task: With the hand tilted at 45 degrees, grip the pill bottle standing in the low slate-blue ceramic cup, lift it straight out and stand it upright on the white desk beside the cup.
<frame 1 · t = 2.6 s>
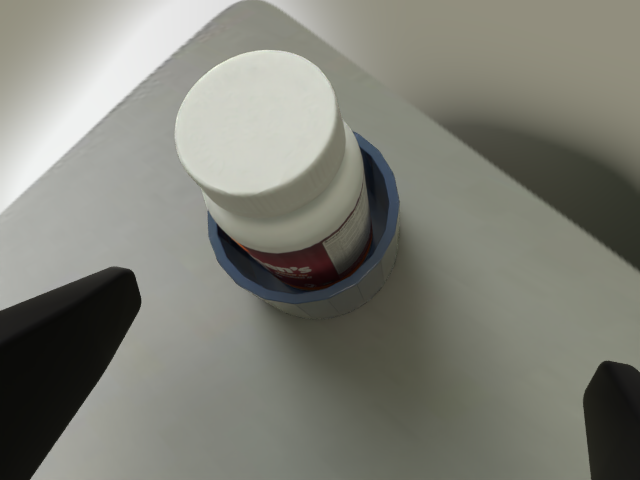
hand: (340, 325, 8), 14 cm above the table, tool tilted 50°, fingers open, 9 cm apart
pill bottle: (317, 238, 24), resting on cup
cup: (318, 240, 24), on the table
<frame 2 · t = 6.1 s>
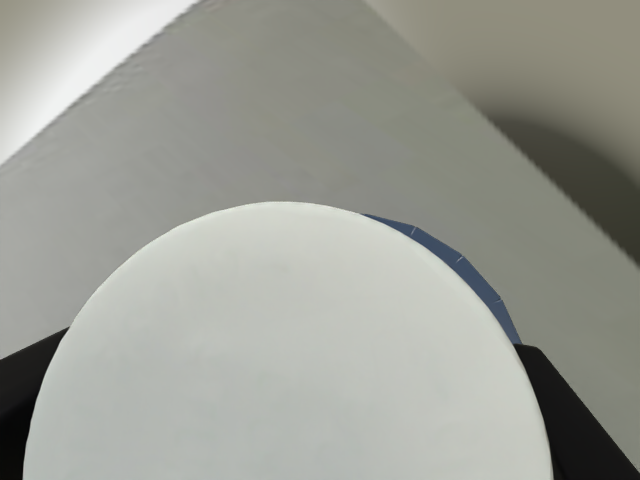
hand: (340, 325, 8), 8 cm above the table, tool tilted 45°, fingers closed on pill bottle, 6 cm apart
pill bottle: (357, 370, 15), resting on cup, touching gripper
cup: (358, 370, 15), on the table
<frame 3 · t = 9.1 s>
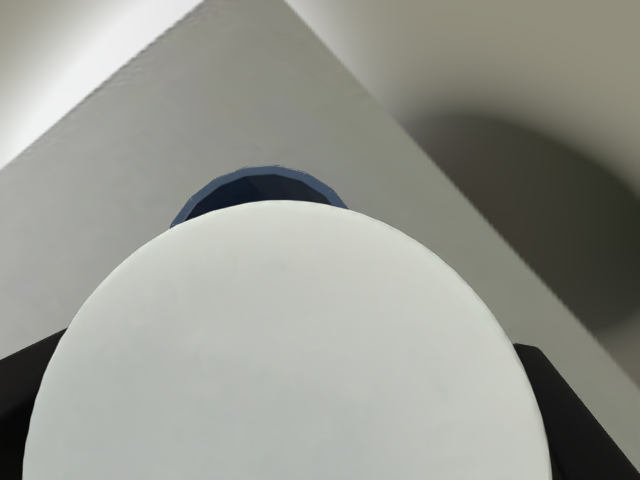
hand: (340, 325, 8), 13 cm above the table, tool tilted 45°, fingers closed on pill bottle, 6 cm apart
pill bottle: (357, 370, 15), point 6 cm above the table, touching gripper
cup: (287, 280, 22), on the table
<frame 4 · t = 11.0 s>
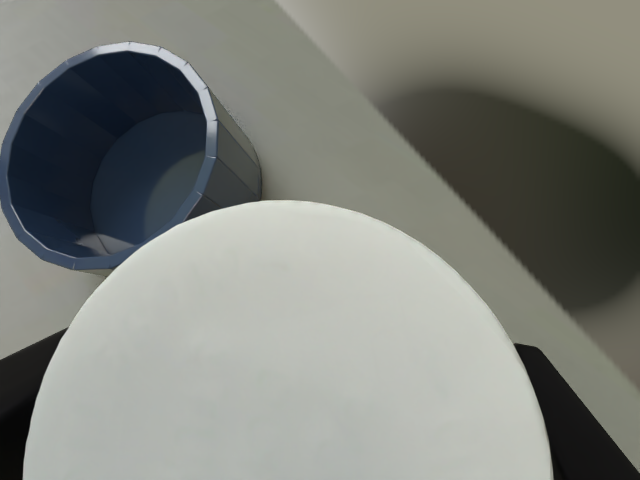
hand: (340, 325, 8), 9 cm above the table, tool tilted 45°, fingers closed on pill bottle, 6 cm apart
pill bottle: (357, 370, 15), point 2 cm above the table, touching gripper
cup: (173, 193, 20), on the table
when the fingers open (7 cm above the table, at t = 12.3 s): pill bottle stays where it is, on the table.
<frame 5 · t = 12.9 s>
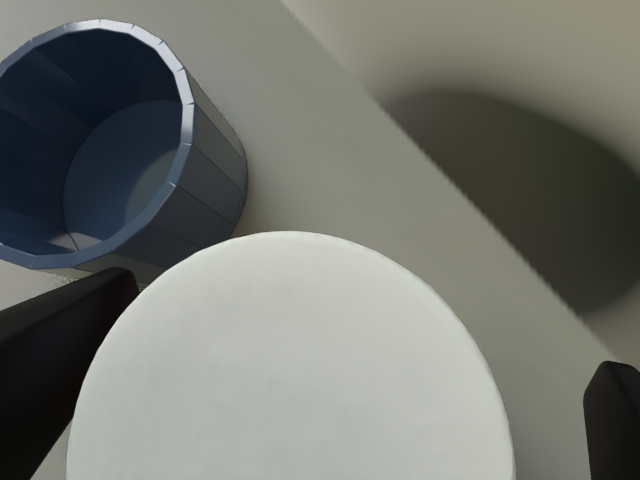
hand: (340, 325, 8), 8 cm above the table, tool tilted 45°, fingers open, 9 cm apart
pill bottle: (356, 373, 16), on the table
cup: (152, 187, 19), on the table
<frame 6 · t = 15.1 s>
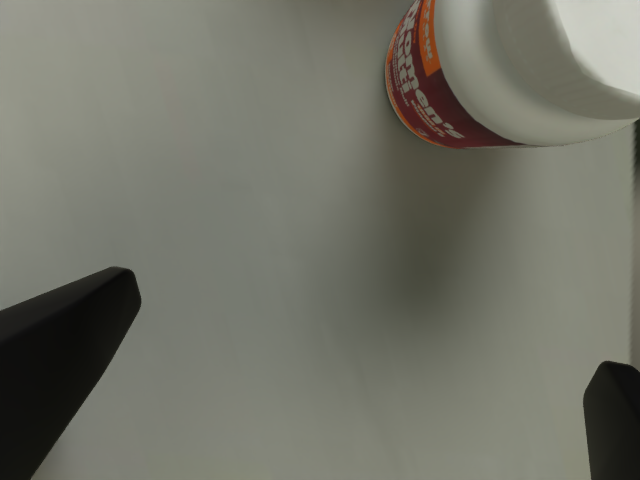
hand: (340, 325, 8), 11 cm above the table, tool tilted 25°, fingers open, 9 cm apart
pill bottle: (456, 73, 18), on the table
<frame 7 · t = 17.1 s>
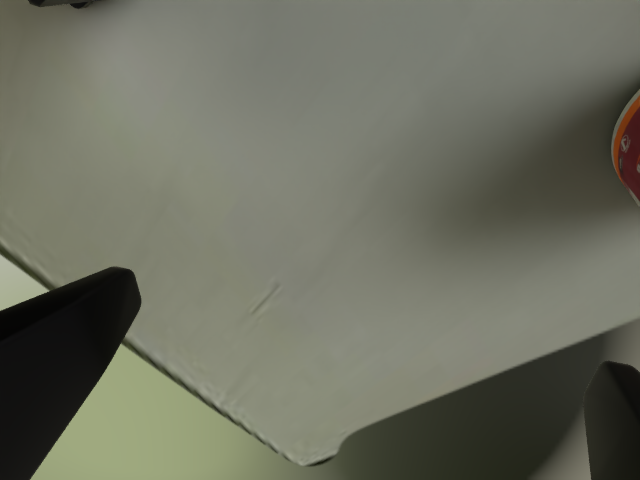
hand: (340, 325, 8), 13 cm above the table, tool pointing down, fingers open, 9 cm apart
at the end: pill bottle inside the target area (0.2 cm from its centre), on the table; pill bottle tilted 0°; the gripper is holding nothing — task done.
